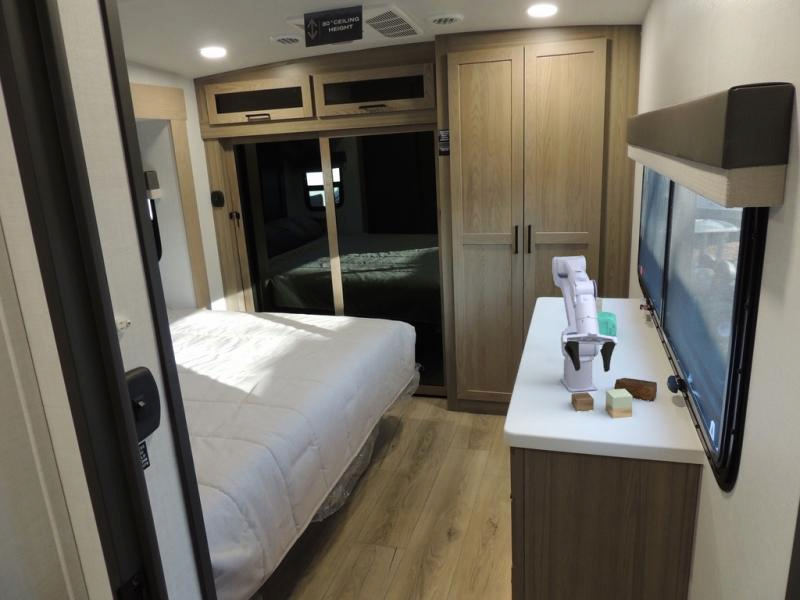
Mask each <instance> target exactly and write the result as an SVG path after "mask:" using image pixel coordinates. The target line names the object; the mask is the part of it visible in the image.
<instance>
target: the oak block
mask: <svg viewBox="0 0 800 600" xmlns="http://www.w3.org/2000/svg"><path fill="white" fill-rule="evenodd" d="M605 411H606V412H607V413H608V415H610V417H612V419H620V418H621V419H622V418H632V417H633V406H632V407H625V408H612V407H611V406H610V404H609V403H608V402H607V401H606V400H605Z"/></svg>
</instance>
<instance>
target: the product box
mask: <svg viewBox="0 0 800 600" xmlns="http://www.w3.org/2000/svg"><path fill="white" fill-rule="evenodd" d="M595 302H596V310H597V312H603V298H602V297H598V296H596V300H595Z"/></svg>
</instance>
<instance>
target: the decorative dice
mask: <svg viewBox="0 0 800 600" xmlns="http://www.w3.org/2000/svg"><path fill="white" fill-rule="evenodd" d="M597 318H598V326H599V334H601V335H606V336H612V337H617V336H616V335H617V326H618V325H617V316H616V314H615V313H613V312H610V311H609V312H608V311H602V312H597Z"/></svg>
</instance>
